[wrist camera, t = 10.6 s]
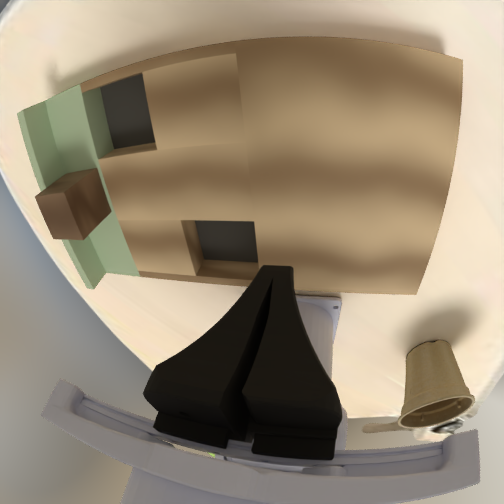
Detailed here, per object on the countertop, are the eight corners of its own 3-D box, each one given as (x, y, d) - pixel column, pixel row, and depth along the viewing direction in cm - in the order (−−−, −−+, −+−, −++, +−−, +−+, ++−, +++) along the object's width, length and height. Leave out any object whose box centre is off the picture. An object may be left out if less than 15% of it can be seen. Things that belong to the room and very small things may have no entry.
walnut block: (111, 211, 21) (83, 240, 18) (80, 213, 22) (53, 239, 19) (97, 167, 19) (64, 192, 16) (66, 173, 20) (34, 196, 17)
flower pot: (415, 327, 26) (426, 398, 20) (474, 332, 25) (490, 393, 19) (382, 369, 32) (384, 429, 26) (437, 371, 31) (444, 425, 24)
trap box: (410, 274, 22) (422, 318, 18) (111, 256, 29) (87, 288, 25) (445, 58, 11) (484, 62, 8) (58, 96, 18) (17, 113, 14)
